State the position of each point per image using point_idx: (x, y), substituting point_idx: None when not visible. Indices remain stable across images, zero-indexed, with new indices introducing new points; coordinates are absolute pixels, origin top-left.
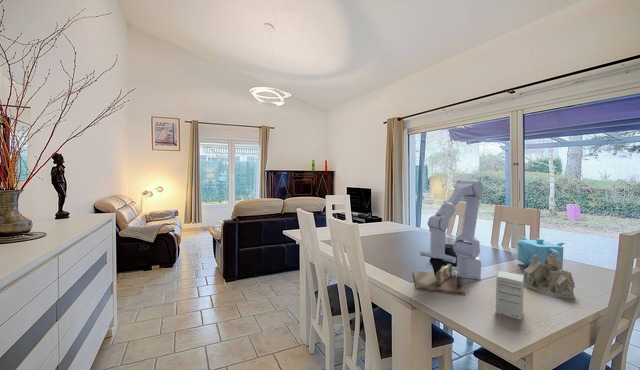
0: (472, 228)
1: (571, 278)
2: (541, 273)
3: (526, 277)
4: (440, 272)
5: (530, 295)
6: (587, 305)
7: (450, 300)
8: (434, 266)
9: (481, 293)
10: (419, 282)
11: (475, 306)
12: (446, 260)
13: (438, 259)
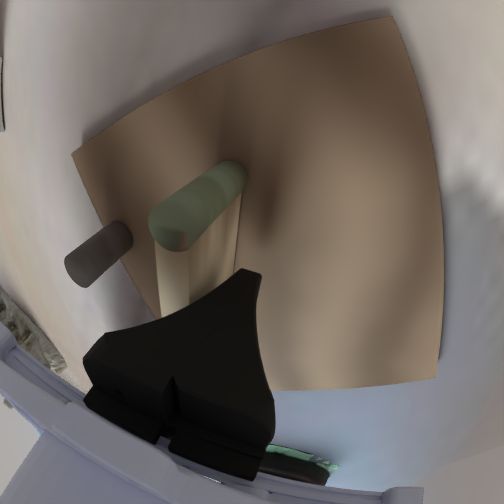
0: None
1: None
2: None
3: (40, 361)
4: (156, 246)
5: (12, 276)
6: None
7: (121, 5)
8: (220, 334)
9: (57, 220)
10: (398, 157)
11: (38, 46)
12: (57, 381)
13: (135, 419)
